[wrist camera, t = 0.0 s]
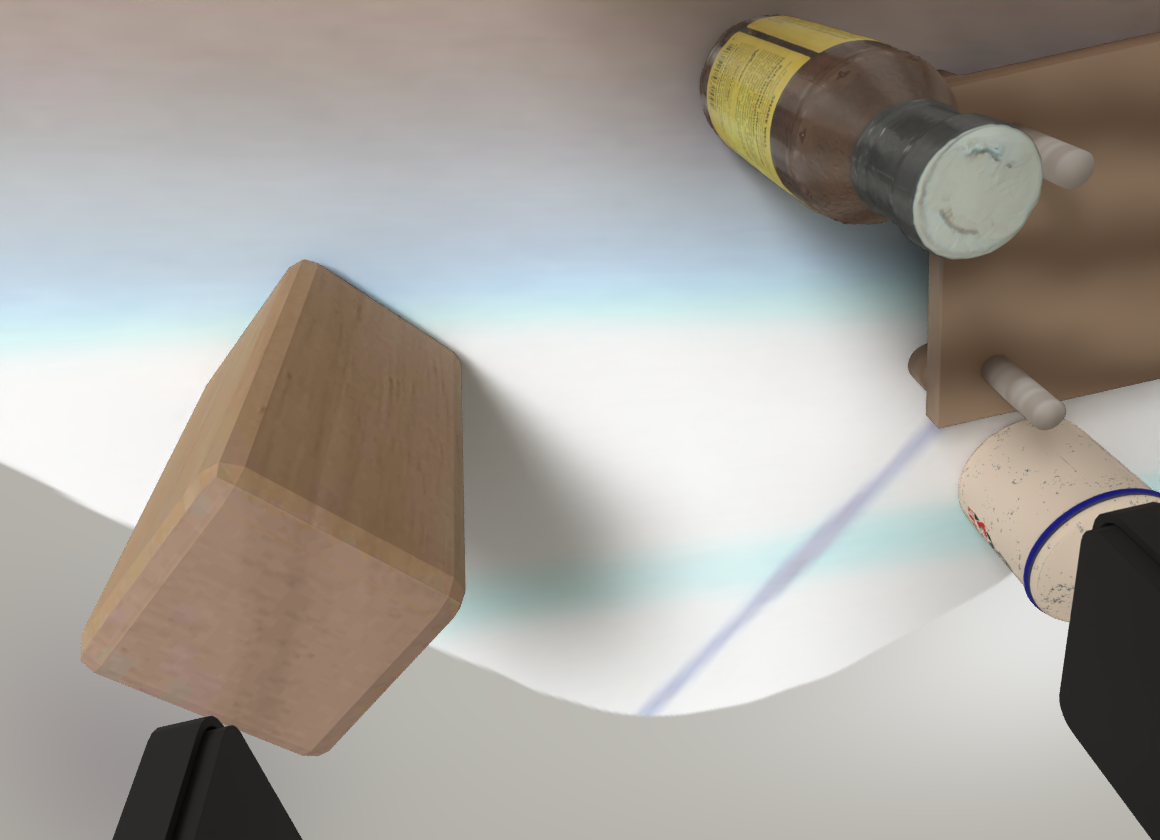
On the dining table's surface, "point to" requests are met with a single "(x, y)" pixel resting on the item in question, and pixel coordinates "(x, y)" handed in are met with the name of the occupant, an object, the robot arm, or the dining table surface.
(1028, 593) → the teacup with lid
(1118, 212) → the peg shelf
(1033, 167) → the sauce bottle
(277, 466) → the wooden block
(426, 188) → the dining table surface
